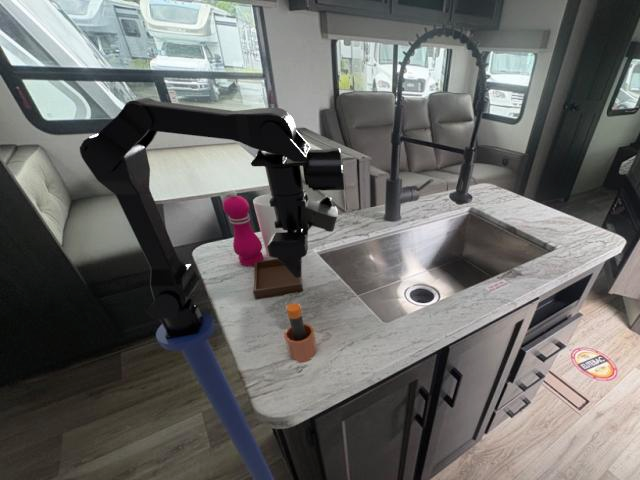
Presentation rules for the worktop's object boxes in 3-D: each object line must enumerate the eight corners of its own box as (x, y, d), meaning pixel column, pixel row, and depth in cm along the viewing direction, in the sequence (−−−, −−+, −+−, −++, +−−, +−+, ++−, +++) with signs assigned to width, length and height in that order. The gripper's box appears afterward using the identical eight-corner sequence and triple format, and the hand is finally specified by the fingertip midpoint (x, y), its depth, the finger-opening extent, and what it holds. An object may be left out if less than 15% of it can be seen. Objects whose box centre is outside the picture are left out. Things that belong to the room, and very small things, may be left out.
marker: (297, 356, 63) (286, 312, 56) (296, 347, 64) (285, 304, 58) (309, 353, 63) (300, 310, 56) (308, 345, 65) (299, 302, 58)
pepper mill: (232, 264, 90) (208, 192, 77) (251, 252, 95) (231, 184, 83) (253, 269, 87) (231, 197, 75) (270, 257, 93) (253, 188, 81)
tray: (255, 299, 77) (252, 291, 76) (256, 269, 88) (254, 261, 86) (303, 291, 80) (301, 284, 79) (299, 263, 91) (297, 255, 89)
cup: (270, 245, 98) (257, 194, 89) (297, 245, 99) (287, 193, 89) (263, 259, 92) (249, 205, 82) (292, 258, 93) (281, 205, 83)
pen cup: (290, 365, 61) (284, 345, 58) (288, 345, 65) (283, 326, 62) (318, 359, 63) (315, 339, 59) (315, 340, 67) (312, 320, 64)
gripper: (329, 209, 51) (338, 289, 61) (335, 174, 66) (341, 242, 75) (257, 211, 50) (277, 292, 59) (279, 174, 64) (292, 244, 74)
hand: (301, 265), depth 67 cm, fingers open, 9 cm apart
